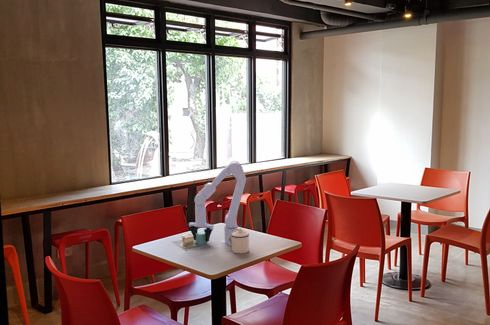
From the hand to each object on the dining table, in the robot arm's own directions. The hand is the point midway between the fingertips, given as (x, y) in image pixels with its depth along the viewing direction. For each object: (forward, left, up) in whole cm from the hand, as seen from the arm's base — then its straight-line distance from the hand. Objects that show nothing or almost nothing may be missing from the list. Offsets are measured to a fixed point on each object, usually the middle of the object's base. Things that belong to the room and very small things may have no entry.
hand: (201, 240), depth 248 cm
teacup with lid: (-22, -10, -2) cm, 24 cm away
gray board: (+1, +4, -2) cm, 4 cm away
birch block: (0, +8, -1) cm, 8 cm away
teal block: (0, 0, -1) cm, 1 cm away
